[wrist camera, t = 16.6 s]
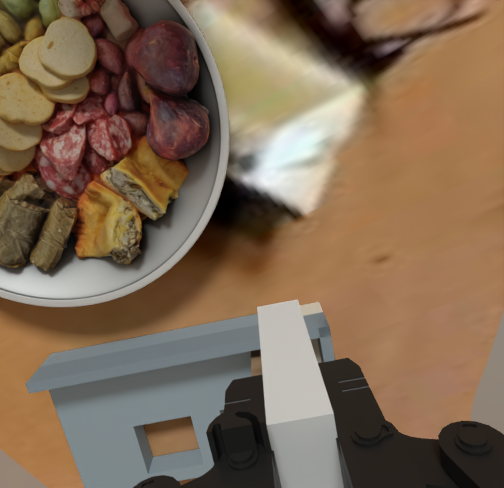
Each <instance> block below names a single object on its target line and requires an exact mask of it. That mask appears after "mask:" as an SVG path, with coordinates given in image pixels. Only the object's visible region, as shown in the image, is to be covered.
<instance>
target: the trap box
mask: <svg viewBox="0 0 504 488" xmlns="http://www.w3.org/2000/svg"><path fill="white" fill-rule="evenodd" d="M300 308H301V312H302V315H303V318H304V321H305V324H306V328H307V331H308V334H309V337H310V340H311V343H312V347H313V350H314V353H315V356H316V359H317V362H318V363H322V362H328V361H333V360H335V358H334V352H333V346H332V340H331V334H330V328H329V324H328V322H327V320H326V317H325V315H324V313H323V310H322V308H321V306H320V304H319V302H316V303H311V304H305V305H300ZM259 349H260V336H259V323H258V314H254V315H249V316H243V317H238V318H233V319H228V320H223V321H218V322H212V323H207V324H202V325H197V326H192V327H187V328H181V329H176V330H171V331H166V332H161V333H156V334H150V335H145V336H140V337H135V338H130V339H125V340H119V341H114V342H109V343H104V344H99V345H94V346H88V347H83V348H78V349H73V350H68V351H63V352H57V353H52V354H50V356H49V357H48V358H47V359H46V360H45V362H44V363H43V364H42V365H41V366H40V367H39V369H38V370H37V371H36V372H35V373H34V375H33V376H32V377H31V378H30V379H29V380H28V382H27V383H26V387H27V389H28V392H29V393H34V392H39V391H44V390H49V392H50V395H51V397H52V400H53V403H54V405H55V408H56V411H57V414H58V416H59V419H60V422H61V425H62V427H63V430H64V433H65V435H66V438H67V441H68V444H69V446H70V449H71V452H72V455H73V457H74V460H75V463H76V466H77V468H78V471H79V474H80V476H81V479H82V482H83V485H84V487H85V488H133V487H134V486H136V485H137V484H138V483H140V482H141V481H143V480H146V479H148V478H150V477H153V476H160V475H166V476H171V477H174V478H175V479H176V480H177V481H181V480H187V479H192V478H198V477H200V476H202V475H204V474H205V473H206V472H208V471H209V470H210V469H211V468H212V467H213V466H214V462H213V458H212V454H211V450H210V446H209V442H208V438H207V434H206V431H207V429H208V426H209V424H210V423H211V422H212V421H213V420H214V419H215V418H216V417H217V416H219V415H221V414H222V413H224V405H225V391H226V389H227V388H228V386H229V385H230V383H231V382H232V380H235V379H240V378H246V377H251V351H254V350H259ZM188 416H191V419H192V423H193V427H194V430H195V434H196V437H197V441H198V445H199V448H200V449H195V450H189V451H184V452H178V453H173V454H167V455H162V456H157V457H153V456H152V452H151V449H150V446H149V443H148V439H147V436H146V433H145V430H144V426H143V425H145V424H150V423H155V422H161V421H166V420H172V419H177V418H182V417H188Z"/></svg>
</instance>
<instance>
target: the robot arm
mask: <svg viewBox="0 0 504 488" xmlns="http://www.w3.org/2000/svg"><path fill="white" fill-rule="evenodd" d="M257 310H258V323H259V336H260V349H261V362H262V375H257V376H251V377H246V378H240V379H235V380H232V382H231V383H230V385H229V386H228V388H227V389H226V391H225V405H224V413H222V414H221V415H219V416H217V417H216V418H215V419H214V420H213V421H212V422H211V423H210V424H209V426H208V429H207V431H206V434H207V438H208V442H209V446H210V450H211V454H212V458H213V462H214V466H213V467H212V468H211V469H210V470H209V471H208V472H206V473H205V474H204V475H202V476H200V477H199V478H197V479H195V480H193V481H190V482H188V483H186V484H184V485H181V486H180V483H179V482H178V481H177V480H176V479H175V478H174V477H171V476H166V475H160V476H153V477H150V478H148V479H146V480H143V481H141V482H140V483H138V484H137V485H136V486H134V487H133V488H504V435H503V434H502V433H501V432H499V431H497V430H496V429H494V428H492V427H491V426H489V425H485V424H482V423H478V422H474V421H460V422H455V423H451V424H449V425H447V426H446V427H444V428H443V429H442V430H441V432H440V434H439V435H438V437H439V440H437V439H422V438H415V437H410V436H407V435H404V434H401V433H400V432H398V430H397V429H396V428H395V427H394V426H393V424H392V423H390V422H388V421H386V420H385V418H384V416H383V414H382V412H381V410H380V408H379V406H378V404H377V402H376V400H375V397H374V395H373V393H372V391H371V389H370V387H369V385H368V383H367V381H366V379H365V378H364V375H363V373H362V371H361V369H360V367H359V365H357V364H356V363H354V362H353V361H352V360H350V359H349V358H345V359H339V360H333V361H328V362H322V363H318V362H317V359H316V356H315V353H314V350H313V347H312V343H311V340H310V337H309V334H308V331H307V328H306V324H305V321H304V318H303V315H302V312H301V308H300V305H299V302H298V300H293V301H287V302H282V303H276V304H271V305H266V306H260V307H257Z"/></svg>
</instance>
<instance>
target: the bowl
mask: <svg viewBox="0 0 504 488" xmlns="http://www.w3.org/2000/svg"><path fill="white" fill-rule="evenodd" d="M229 144H230V128H229V115H228V107H227V101H226V96H225V91H224V87H223V83H222V80H221V76H220V73H219V70H218V68H217V65H216V62H215V60H214V57H213V55H212V52H211V50H210V48H209V46H208V44H207V42H206V40H205V38H204V36H203V34H202V32H201V31H200V29H199V27H198V25H197V24H196V22H195V21H194V19H193V18H192V16H191V15H190V13H189V12H188V10H187V9H186V8H185V6H184V5H183V4H182V2H181V1H180V0H0V297H2V298H5V299H8V300H12V301H15V302H20V303H25V304H30V305H36V306H46V307H78V306H87V305H93V304H98V303H103V302H107V301H110V300H114V299H117V298H120V297H123V296H125V295H128V294H130V293H132V292H135V291H137V290H139V289H141V288H143V287H145V286H146V285H148V284H150V283H151V282H153V281H154V280H156V279H157V278H159V277H160V276H162V275H163V274H164V273H166V272H167V271H168V270H169V269H171V268H172V267H173V266H174V265H175V264H176V263H177V262H178V261H179V260H180V259H181V258H182V257H183V256H184V255H185V254H186V253H187V252H188V251H189V250H190V248H191V247H192V246H193V245H194V243H195V242H196V241H197V239H198V238H199V237H200V235H201V233H202V232H203V230H204V229H205V227H206V225H207V223H208V222H209V220H210V218H211V216H212V214H213V212H214V209H215V207H216V205H217V202H218V199H219V197H220V194H221V191H222V187H223V184H224V180H225V176H226V171H227V165H228V157H229Z"/></svg>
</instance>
